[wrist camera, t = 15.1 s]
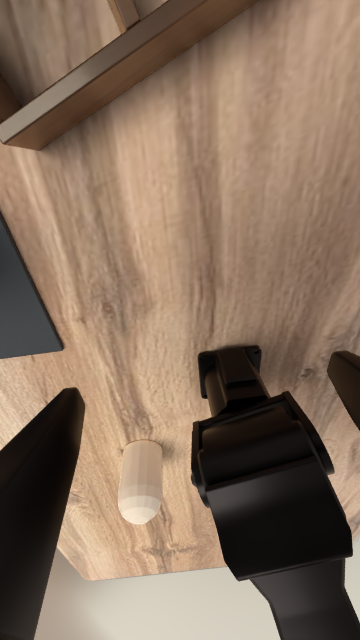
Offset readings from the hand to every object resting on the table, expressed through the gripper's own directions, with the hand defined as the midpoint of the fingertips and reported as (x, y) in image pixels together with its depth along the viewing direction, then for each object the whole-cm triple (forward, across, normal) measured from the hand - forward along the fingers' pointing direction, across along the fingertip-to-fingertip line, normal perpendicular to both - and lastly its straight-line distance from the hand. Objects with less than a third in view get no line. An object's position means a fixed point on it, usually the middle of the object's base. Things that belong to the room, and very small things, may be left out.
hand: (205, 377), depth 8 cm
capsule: (+13, +8, +26) cm, 30 cm away
